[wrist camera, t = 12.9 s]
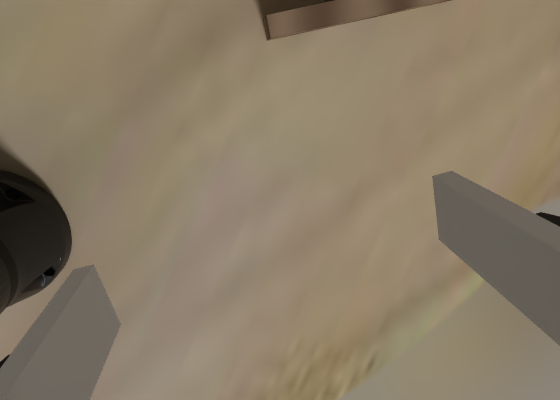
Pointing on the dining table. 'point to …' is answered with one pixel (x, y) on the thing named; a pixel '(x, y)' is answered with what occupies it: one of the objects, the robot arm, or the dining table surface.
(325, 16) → the edge bar
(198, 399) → the dining table surface
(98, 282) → the robot arm
